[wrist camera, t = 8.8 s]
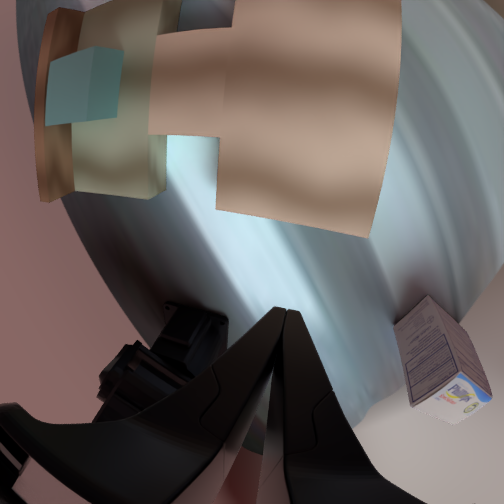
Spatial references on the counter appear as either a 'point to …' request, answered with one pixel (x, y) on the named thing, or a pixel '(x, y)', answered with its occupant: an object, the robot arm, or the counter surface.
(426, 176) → the counter surface
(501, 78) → the counter surface
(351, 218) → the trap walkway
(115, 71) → the teal block
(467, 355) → the medicine box
